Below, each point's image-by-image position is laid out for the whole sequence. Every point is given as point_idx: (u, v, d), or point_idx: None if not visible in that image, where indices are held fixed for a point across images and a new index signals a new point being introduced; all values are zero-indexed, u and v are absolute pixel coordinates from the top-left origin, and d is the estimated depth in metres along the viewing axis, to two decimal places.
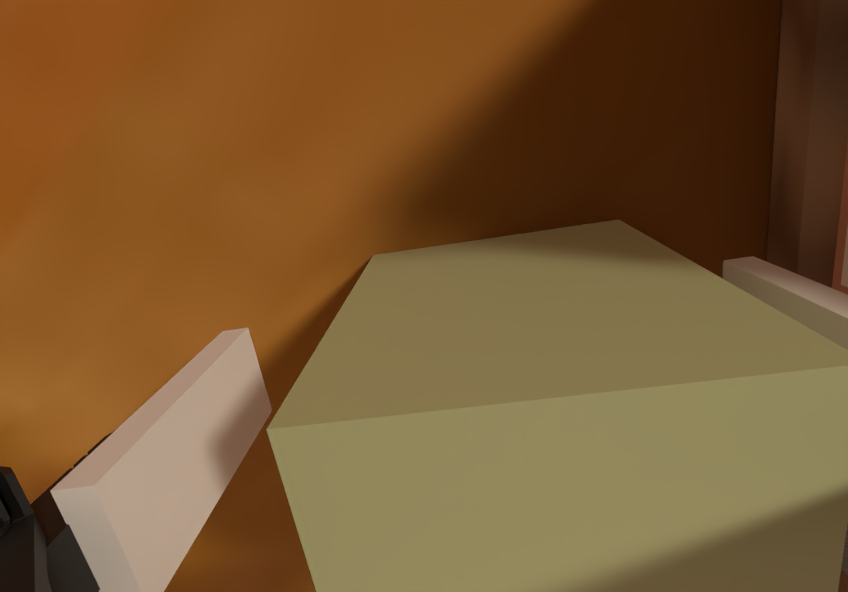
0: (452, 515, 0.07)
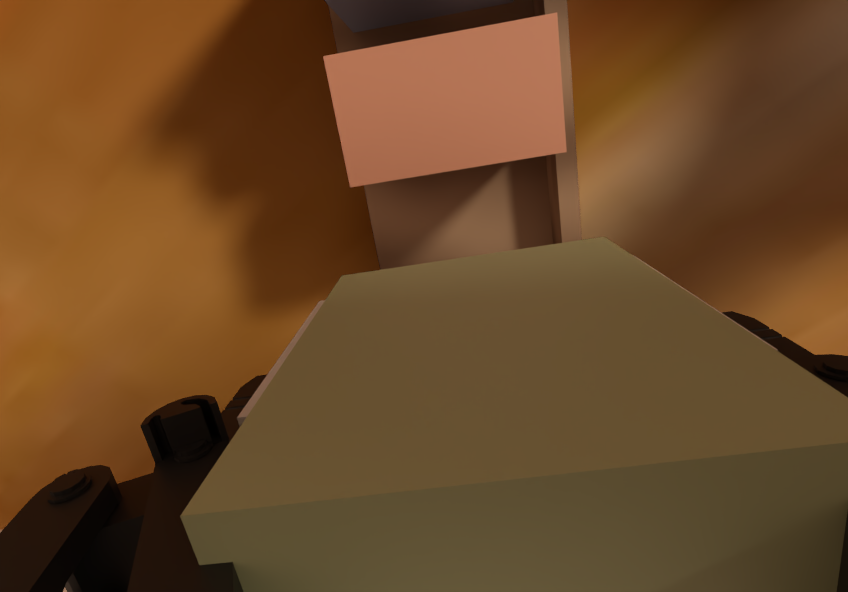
0: None
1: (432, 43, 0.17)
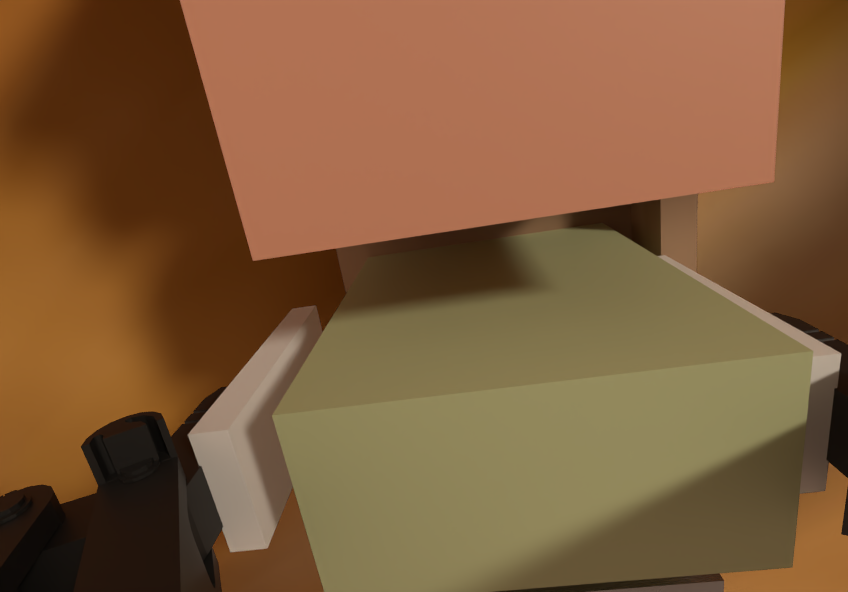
0: (441, 494, 0.08)
1: None
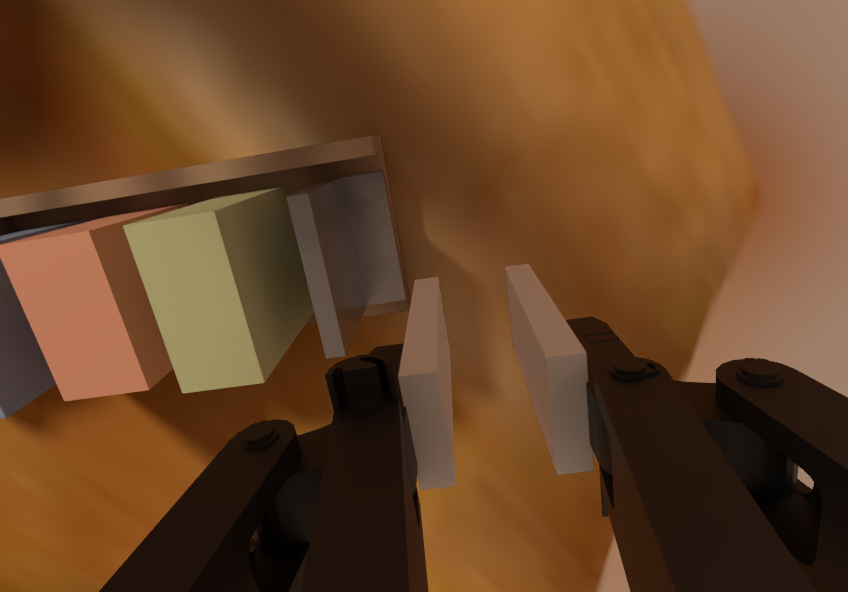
0: (203, 341, 0.22)
1: (38, 331, 0.23)
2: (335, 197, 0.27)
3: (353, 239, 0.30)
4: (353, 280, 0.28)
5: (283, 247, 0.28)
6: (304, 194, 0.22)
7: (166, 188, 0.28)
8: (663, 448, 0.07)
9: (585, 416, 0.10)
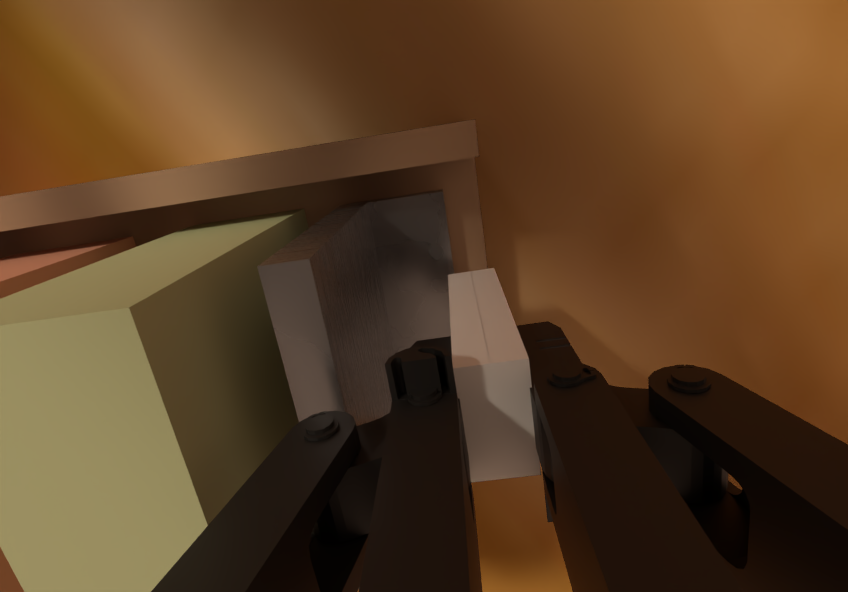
0: None
1: None
2: (361, 243, 0.14)
3: (387, 308, 0.17)
4: (389, 389, 0.16)
5: None
6: (300, 260, 0.09)
7: (83, 216, 0.15)
8: (599, 454, 0.07)
9: (530, 421, 0.10)
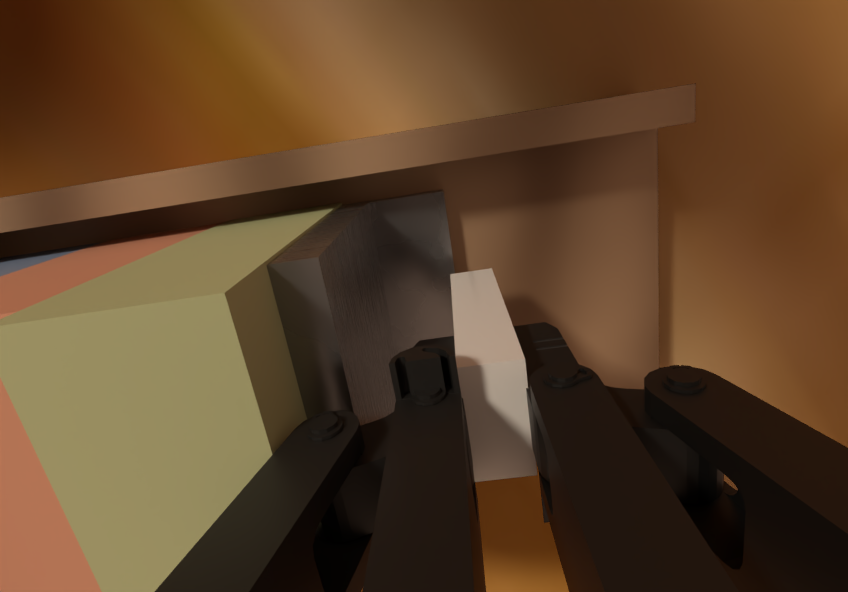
0: None
1: None
2: (363, 243, 0.14)
3: (388, 308, 0.17)
4: (392, 387, 0.16)
5: None
6: (309, 258, 0.09)
7: (276, 186, 0.14)
8: (595, 454, 0.07)
9: (526, 421, 0.10)
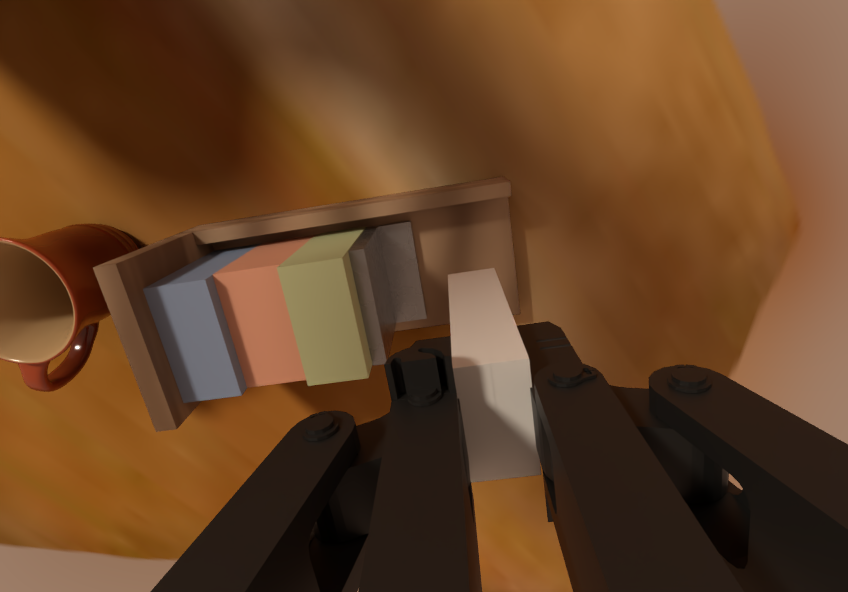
0: (326, 348, 0.31)
1: (234, 335, 0.32)
2: (376, 244, 0.36)
3: (387, 272, 0.39)
4: (388, 305, 0.37)
5: None
6: (361, 249, 0.31)
7: (347, 220, 0.36)
8: (599, 453, 0.07)
9: (530, 421, 0.10)
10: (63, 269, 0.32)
